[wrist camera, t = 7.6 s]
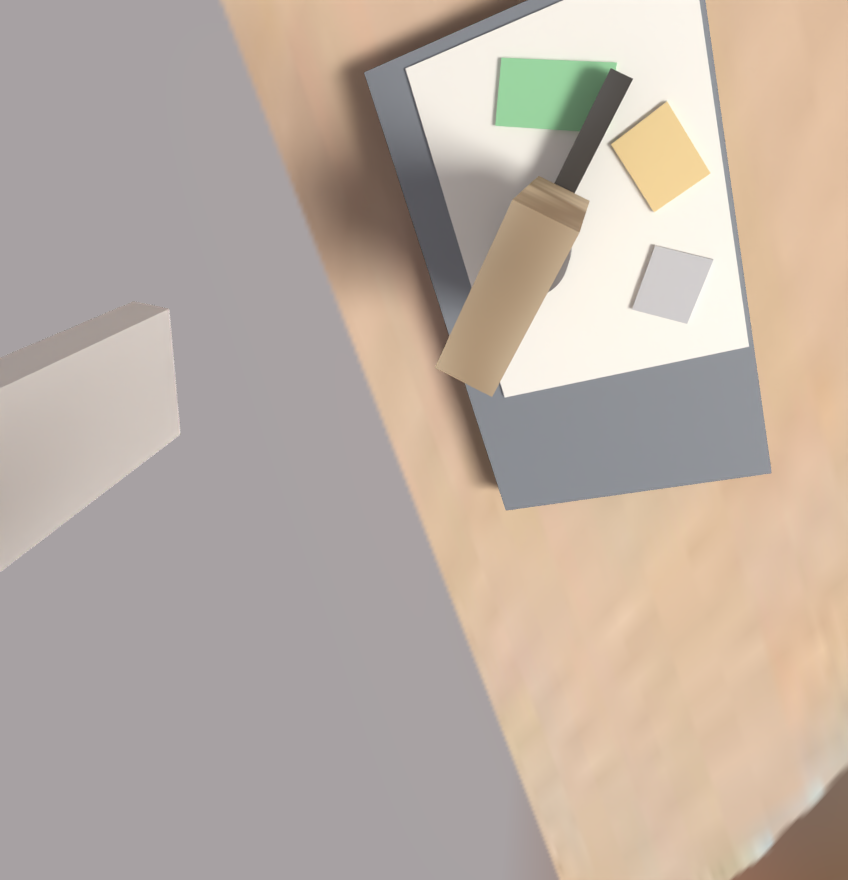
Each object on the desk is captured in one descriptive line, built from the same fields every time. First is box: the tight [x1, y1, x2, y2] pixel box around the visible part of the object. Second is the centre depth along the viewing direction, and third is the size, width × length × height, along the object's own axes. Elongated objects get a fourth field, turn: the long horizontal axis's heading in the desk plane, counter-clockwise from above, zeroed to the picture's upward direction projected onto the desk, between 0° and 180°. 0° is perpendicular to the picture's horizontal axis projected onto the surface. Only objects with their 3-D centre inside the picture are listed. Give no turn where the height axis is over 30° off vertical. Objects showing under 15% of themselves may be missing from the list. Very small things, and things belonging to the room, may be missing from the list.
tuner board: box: [364, 0, 771, 510], centre depth 29 cm, size 22×13×2 cm, turn 19°
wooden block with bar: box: [435, 68, 633, 397], centre depth 23 cm, size 3×10×9 cm, turn 157°
